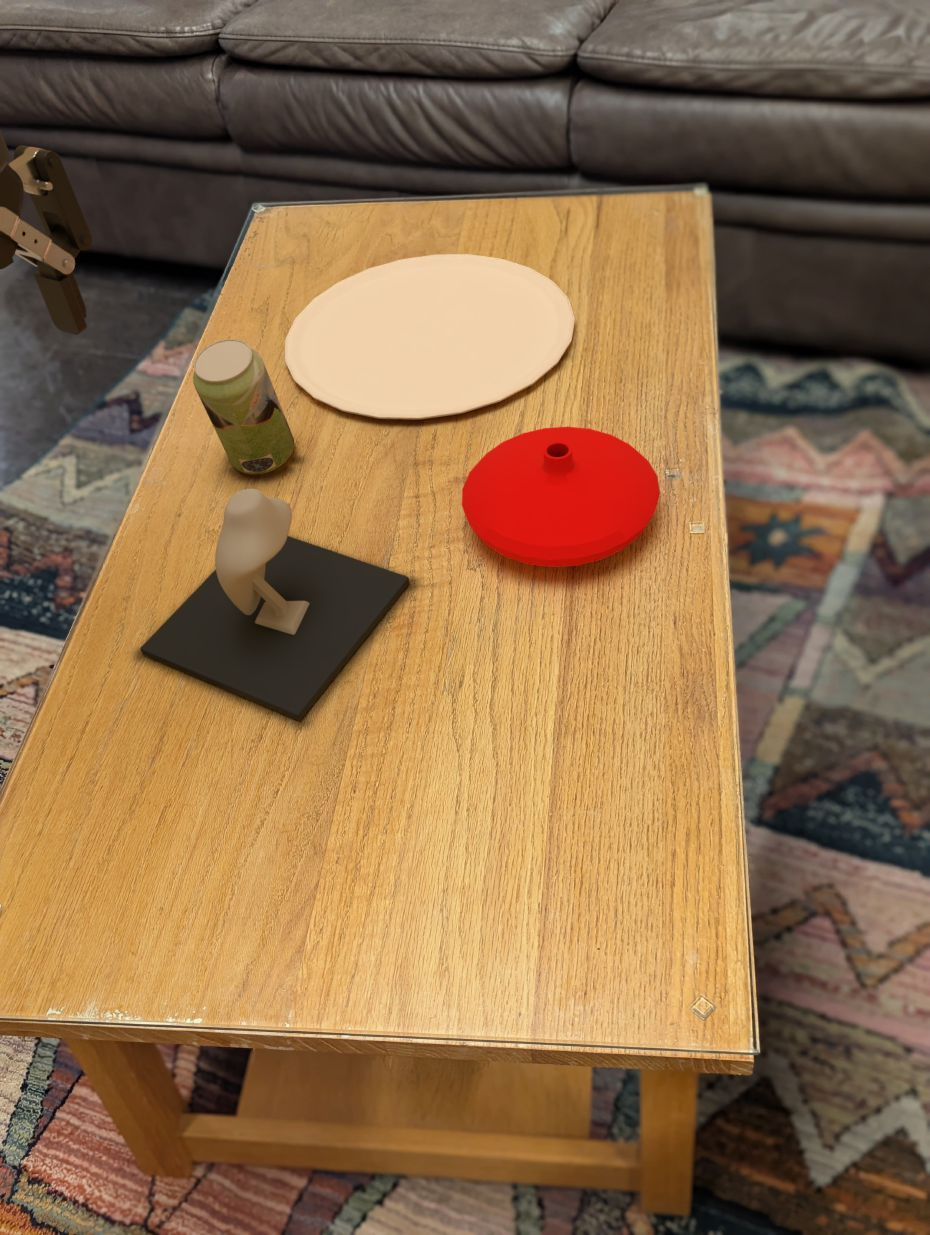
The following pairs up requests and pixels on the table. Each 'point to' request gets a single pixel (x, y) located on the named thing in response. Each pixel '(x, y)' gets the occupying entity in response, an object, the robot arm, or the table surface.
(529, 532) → the red disc with nozzle
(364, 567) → the mat
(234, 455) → the beverage can
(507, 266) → the plate
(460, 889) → the table surface
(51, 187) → the robot arm
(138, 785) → the table surface
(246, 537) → the grey rounded body
